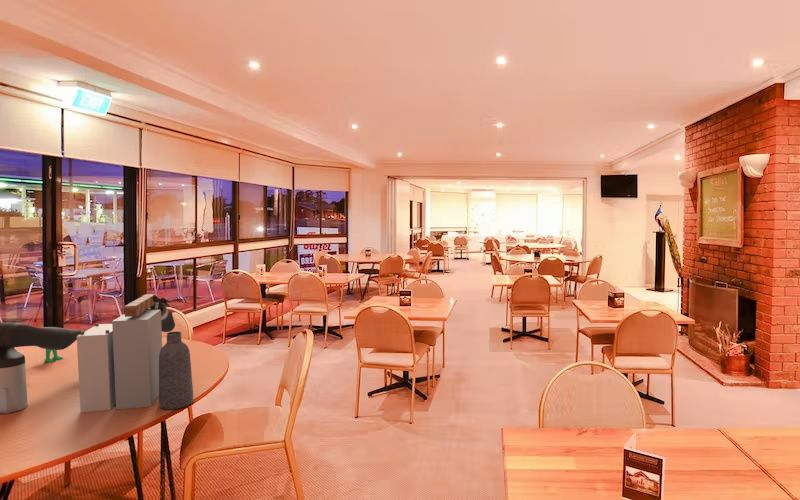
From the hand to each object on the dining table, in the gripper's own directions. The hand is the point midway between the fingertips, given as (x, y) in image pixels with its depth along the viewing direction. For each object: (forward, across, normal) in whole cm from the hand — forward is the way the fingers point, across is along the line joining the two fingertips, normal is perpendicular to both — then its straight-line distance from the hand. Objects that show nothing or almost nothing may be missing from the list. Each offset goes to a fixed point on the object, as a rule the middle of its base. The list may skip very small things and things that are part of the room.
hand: (147, 297), depth 201 cm
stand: (-7, -6, +41) cm, 42 cm away
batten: (+7, 0, +8) cm, 10 cm away
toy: (-65, -59, +8) cm, 88 cm away
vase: (+2, +15, +46) cm, 48 cm away
